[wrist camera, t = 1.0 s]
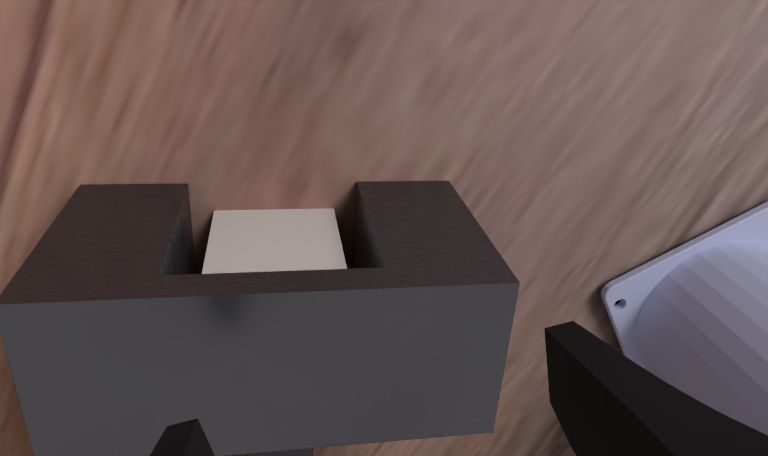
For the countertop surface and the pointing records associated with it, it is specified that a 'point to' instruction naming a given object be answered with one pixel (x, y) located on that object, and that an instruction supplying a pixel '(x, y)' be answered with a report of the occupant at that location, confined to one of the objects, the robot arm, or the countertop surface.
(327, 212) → the plug
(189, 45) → the countertop surface
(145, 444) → the housing
